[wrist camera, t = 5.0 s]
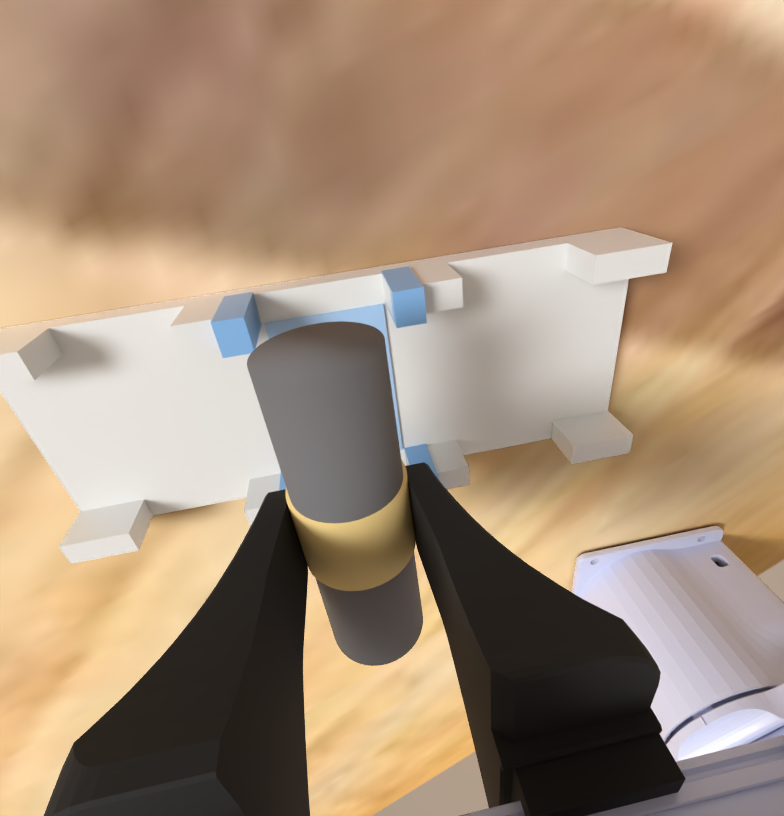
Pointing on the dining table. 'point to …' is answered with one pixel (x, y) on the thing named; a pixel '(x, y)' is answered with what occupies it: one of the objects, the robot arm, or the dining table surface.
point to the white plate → (310, 304)
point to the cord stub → (344, 480)
